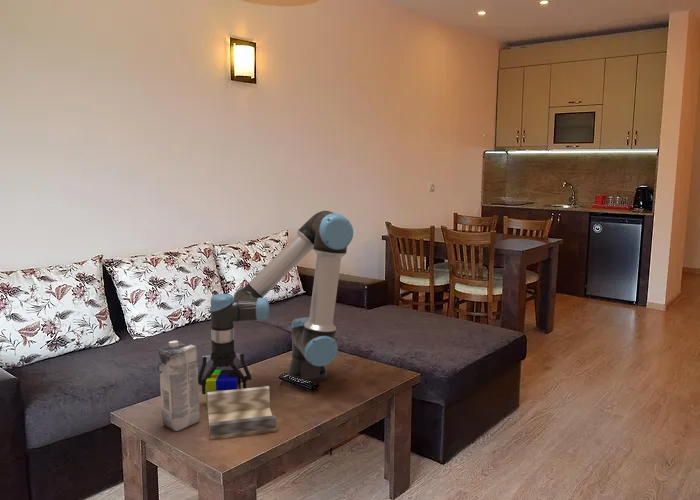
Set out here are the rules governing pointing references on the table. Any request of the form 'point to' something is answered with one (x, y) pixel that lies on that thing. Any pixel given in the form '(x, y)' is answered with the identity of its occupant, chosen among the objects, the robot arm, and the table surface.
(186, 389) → the juice carton
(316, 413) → the table surface
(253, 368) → the table surface
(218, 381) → the puzzle toy
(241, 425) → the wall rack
